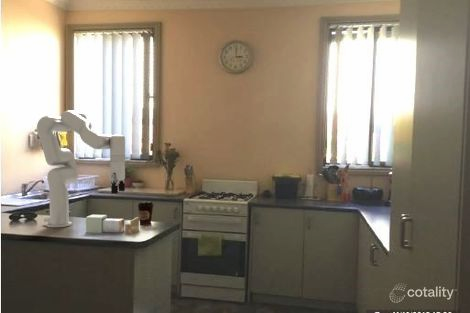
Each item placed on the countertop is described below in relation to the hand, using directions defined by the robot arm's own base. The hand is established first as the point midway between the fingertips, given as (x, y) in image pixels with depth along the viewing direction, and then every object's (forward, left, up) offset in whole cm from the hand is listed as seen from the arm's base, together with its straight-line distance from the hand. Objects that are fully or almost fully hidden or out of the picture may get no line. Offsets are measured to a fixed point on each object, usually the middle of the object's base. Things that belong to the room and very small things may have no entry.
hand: (118, 192), depth 217 cm
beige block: (+8, -2, -20) cm, 22 cm away
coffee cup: (+9, +16, -20) cm, 28 cm away
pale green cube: (-11, -2, -20) cm, 23 cm away
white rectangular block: (-6, -2, -20) cm, 21 cm away
